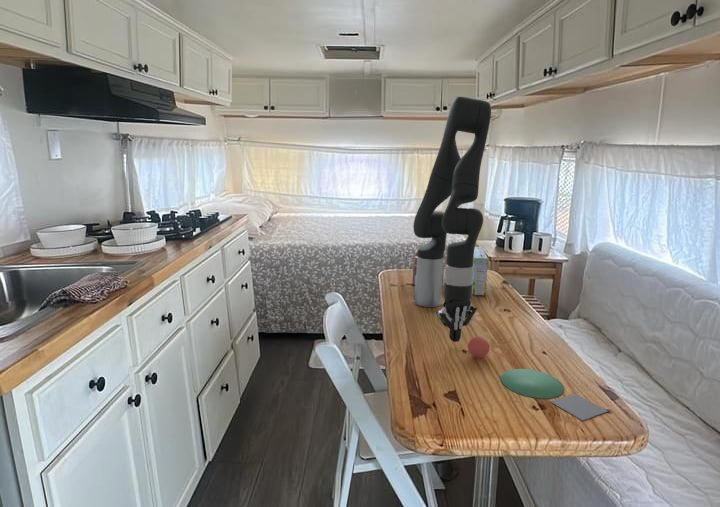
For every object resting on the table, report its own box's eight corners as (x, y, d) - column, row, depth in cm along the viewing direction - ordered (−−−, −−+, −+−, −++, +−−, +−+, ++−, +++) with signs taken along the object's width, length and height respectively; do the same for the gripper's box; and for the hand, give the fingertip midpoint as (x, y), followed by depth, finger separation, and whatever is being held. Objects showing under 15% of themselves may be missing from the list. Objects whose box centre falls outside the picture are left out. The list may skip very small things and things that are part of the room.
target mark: (488, 376, 111) (488, 375, 111) (530, 365, 117) (530, 364, 117) (533, 404, 99) (533, 403, 99) (577, 390, 105) (577, 389, 105)
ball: (483, 353, 117) (472, 364, 120) (497, 347, 120) (486, 358, 123) (470, 336, 119) (460, 346, 123) (484, 330, 122) (473, 341, 126)
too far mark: (550, 402, 100) (550, 401, 100) (575, 394, 104) (575, 393, 104) (582, 421, 93) (582, 420, 93) (607, 411, 97) (608, 410, 97)
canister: (439, 280, 195) (441, 239, 191) (446, 289, 182) (449, 246, 179) (409, 280, 194) (411, 239, 191) (414, 289, 182) (416, 245, 178)
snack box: (466, 280, 196) (469, 246, 192) (480, 281, 195) (482, 246, 192) (471, 295, 175) (474, 257, 172) (486, 296, 174) (489, 258, 171)
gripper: (468, 275, 131) (464, 332, 134) (430, 280, 125) (427, 339, 129) (486, 282, 124) (482, 341, 128) (447, 287, 118) (443, 350, 122)
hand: (454, 340), depth 128 cm, fingers closed
